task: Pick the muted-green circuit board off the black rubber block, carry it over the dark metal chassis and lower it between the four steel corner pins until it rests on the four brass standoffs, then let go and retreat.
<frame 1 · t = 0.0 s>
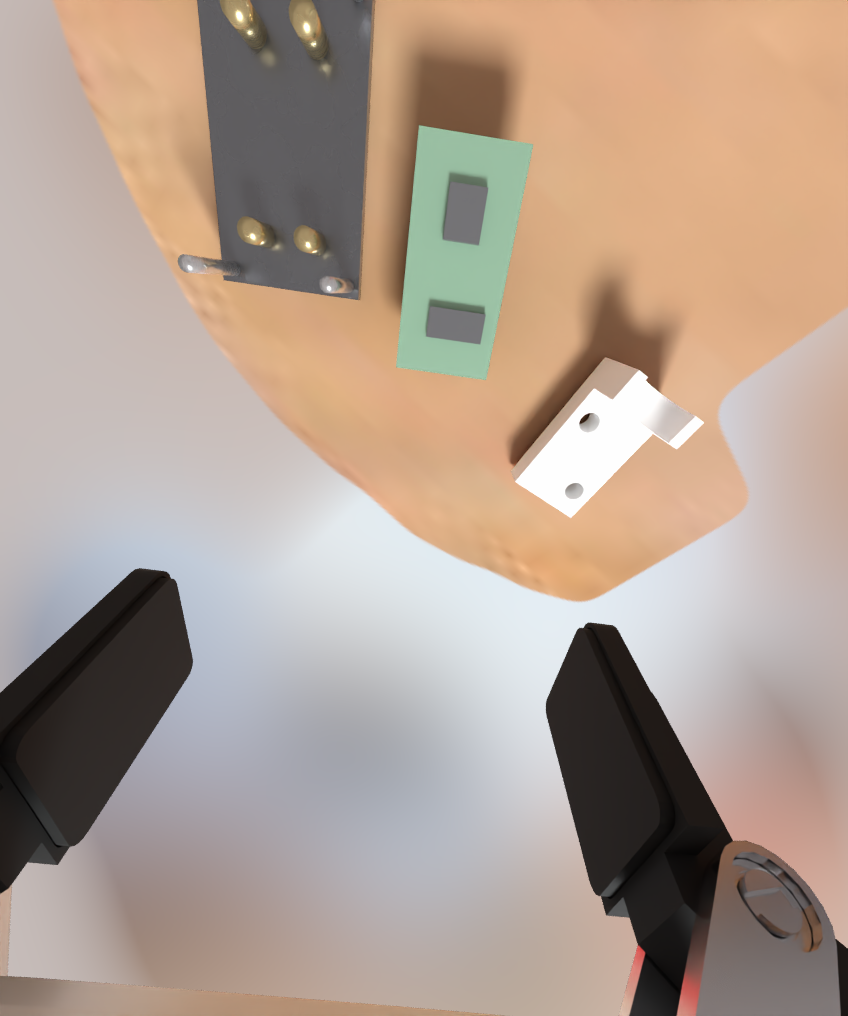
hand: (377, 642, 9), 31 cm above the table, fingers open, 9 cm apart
board: (455, 270, 29), point 4 cm above the table, touching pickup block
chassis: (292, 151, 29), on the table
bracket: (578, 434, 39), on the table
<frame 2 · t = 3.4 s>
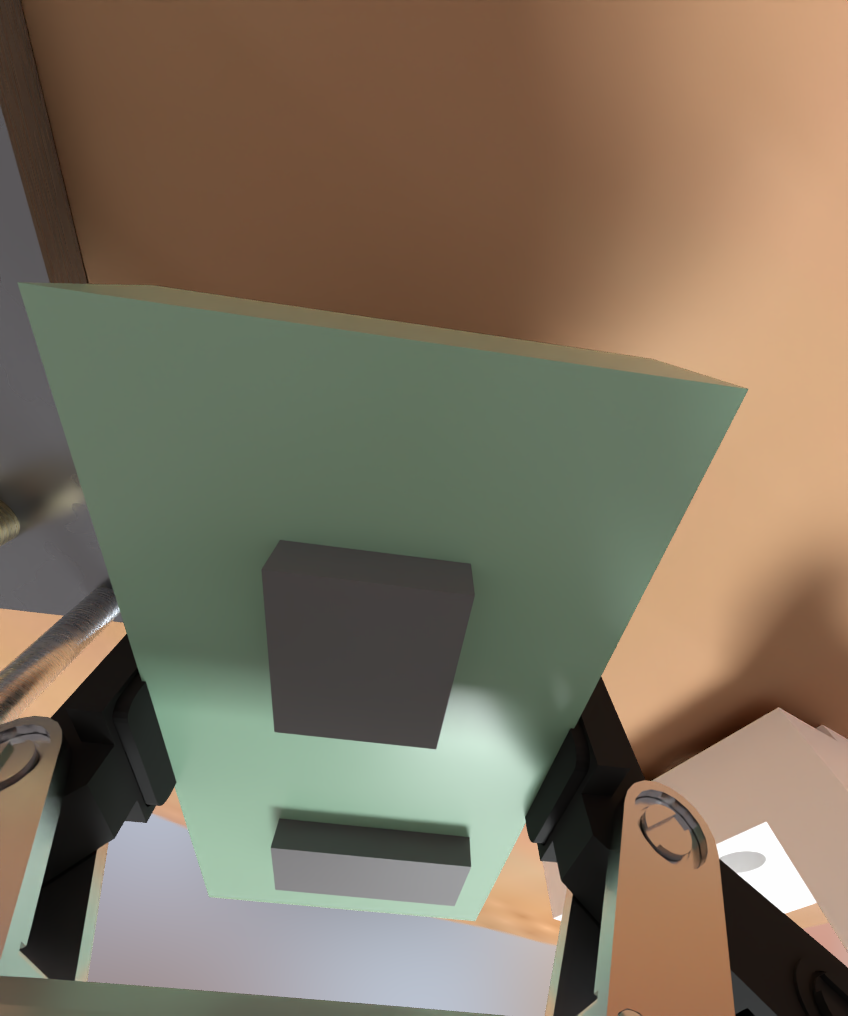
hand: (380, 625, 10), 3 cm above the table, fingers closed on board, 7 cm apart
board: (373, 665, 9), point 4 cm above the table, touching gripper, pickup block
bracket: (682, 784, 19), on the table
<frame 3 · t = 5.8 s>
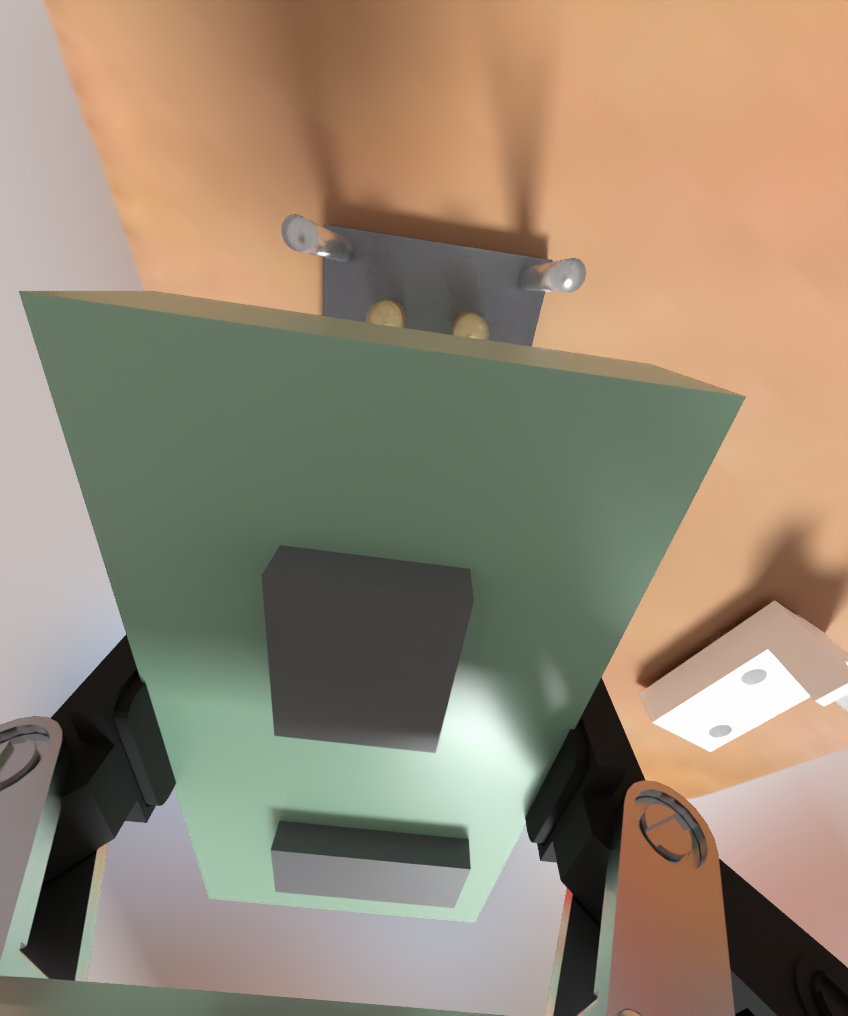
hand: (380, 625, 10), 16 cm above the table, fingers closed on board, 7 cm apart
board: (373, 667, 9), point 18 cm above the table, touching gripper
chassis: (417, 420, 24), on the table
bracket: (720, 657, 34), on the table
when the fingers open (3 cm above the table, at t = 8.6 s): board stays where it is, resting on chassis.
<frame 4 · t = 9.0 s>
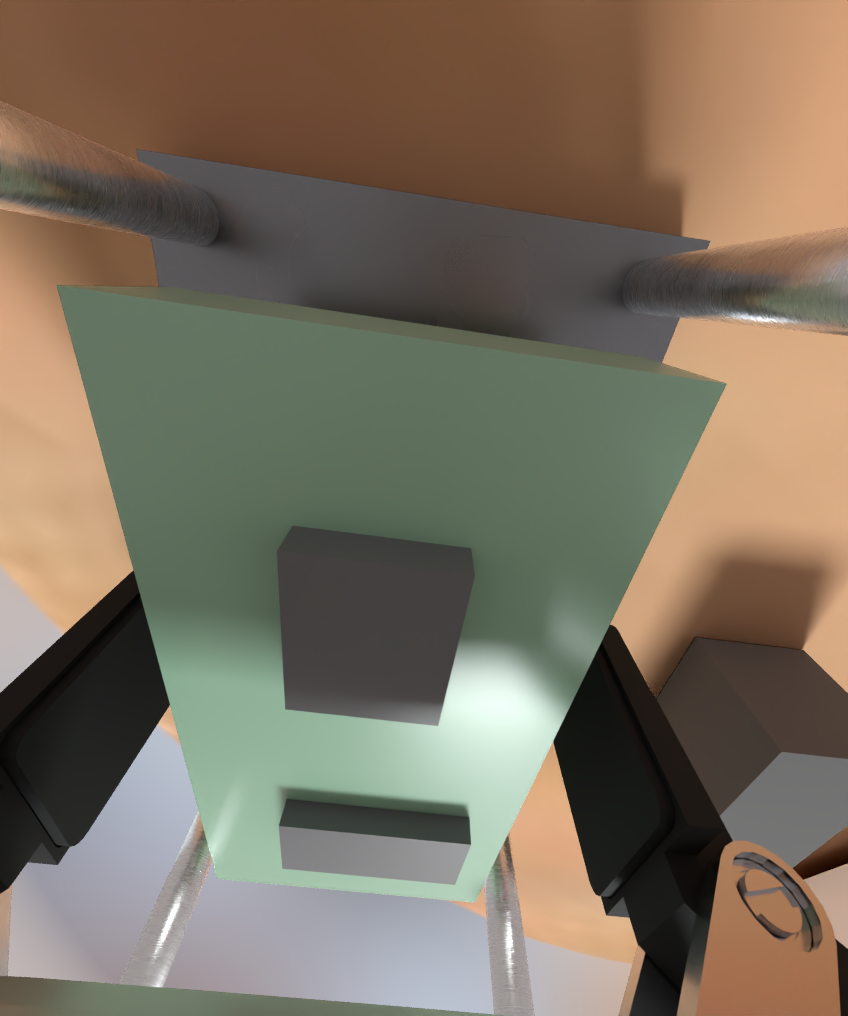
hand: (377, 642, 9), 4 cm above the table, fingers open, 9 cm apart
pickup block: (698, 713, 16), on the table
board: (376, 652, 9), point 4 cm above the table, touching chassis
chassis: (392, 552, 13), on the table
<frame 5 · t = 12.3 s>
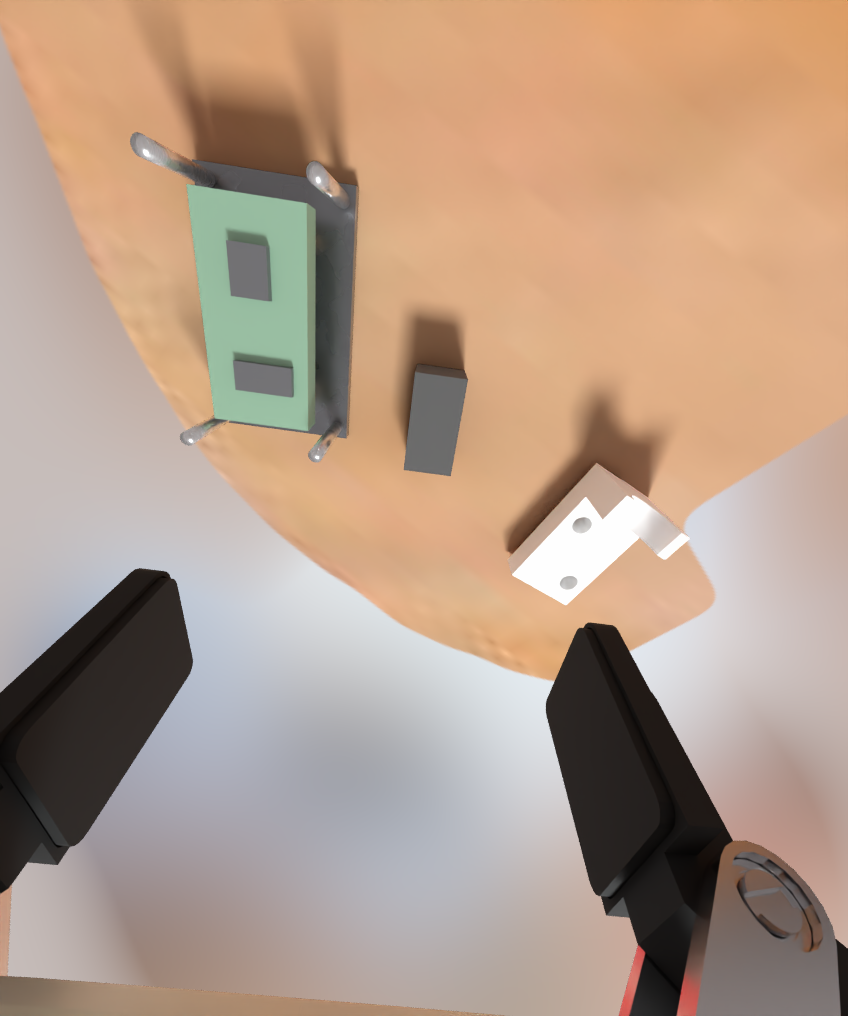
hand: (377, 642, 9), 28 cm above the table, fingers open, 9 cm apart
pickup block: (434, 413, 35), on the table
board: (266, 321, 28), point 4 cm above the table, touching chassis
chassis: (284, 318, 32), on the table
bracket: (572, 525, 41), on the table
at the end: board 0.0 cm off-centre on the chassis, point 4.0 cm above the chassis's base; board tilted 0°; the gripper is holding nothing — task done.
